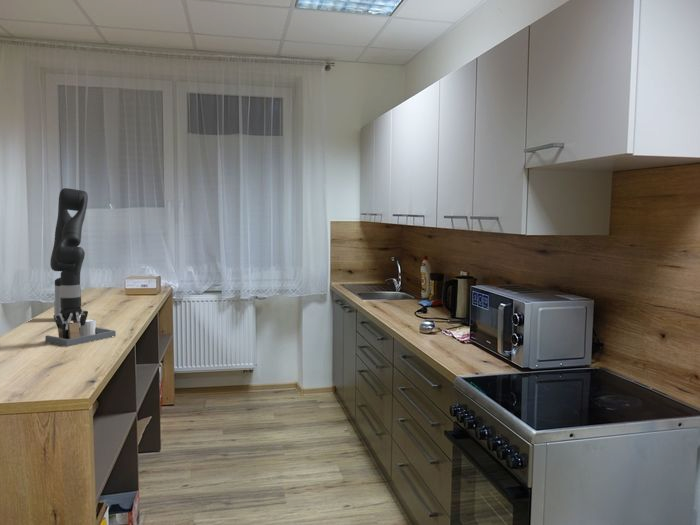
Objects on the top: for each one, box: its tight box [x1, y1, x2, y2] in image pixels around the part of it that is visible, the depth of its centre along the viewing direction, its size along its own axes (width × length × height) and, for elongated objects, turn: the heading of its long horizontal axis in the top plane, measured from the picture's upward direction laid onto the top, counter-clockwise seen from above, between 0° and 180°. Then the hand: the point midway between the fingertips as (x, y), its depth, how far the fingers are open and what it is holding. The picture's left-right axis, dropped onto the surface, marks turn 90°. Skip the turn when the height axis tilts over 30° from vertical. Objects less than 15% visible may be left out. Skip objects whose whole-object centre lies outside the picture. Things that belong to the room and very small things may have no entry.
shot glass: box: [80, 318, 97, 337], centre depth 227 cm, size 7×7×7 cm
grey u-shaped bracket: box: [44, 326, 117, 347], centre depth 222 cm, size 14×22×2 cm, turn 151°
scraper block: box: [57, 322, 80, 339], centre depth 218 cm, size 8×4×6 cm, turn 61°
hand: (71, 337), depth 217 cm, fingers closed on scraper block, 4 cm apart
